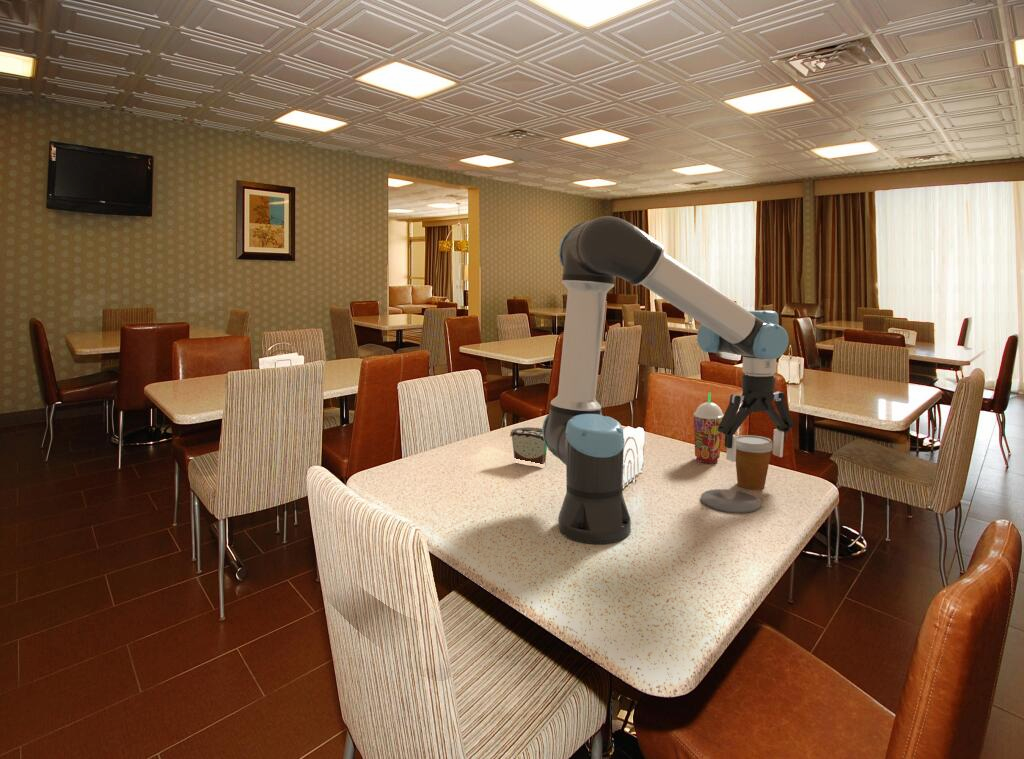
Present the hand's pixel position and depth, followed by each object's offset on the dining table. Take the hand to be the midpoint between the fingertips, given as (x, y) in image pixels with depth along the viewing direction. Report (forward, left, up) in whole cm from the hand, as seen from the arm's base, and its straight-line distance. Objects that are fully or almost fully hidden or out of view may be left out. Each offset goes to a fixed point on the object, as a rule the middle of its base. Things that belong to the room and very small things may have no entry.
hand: (754, 458), depth 140 cm
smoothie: (+1, +22, -8) cm, 23 cm away
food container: (-48, +34, -8) cm, 59 cm away
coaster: (-12, -8, -7) cm, 16 cm away
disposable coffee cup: (0, +1, -8) cm, 8 cm away
